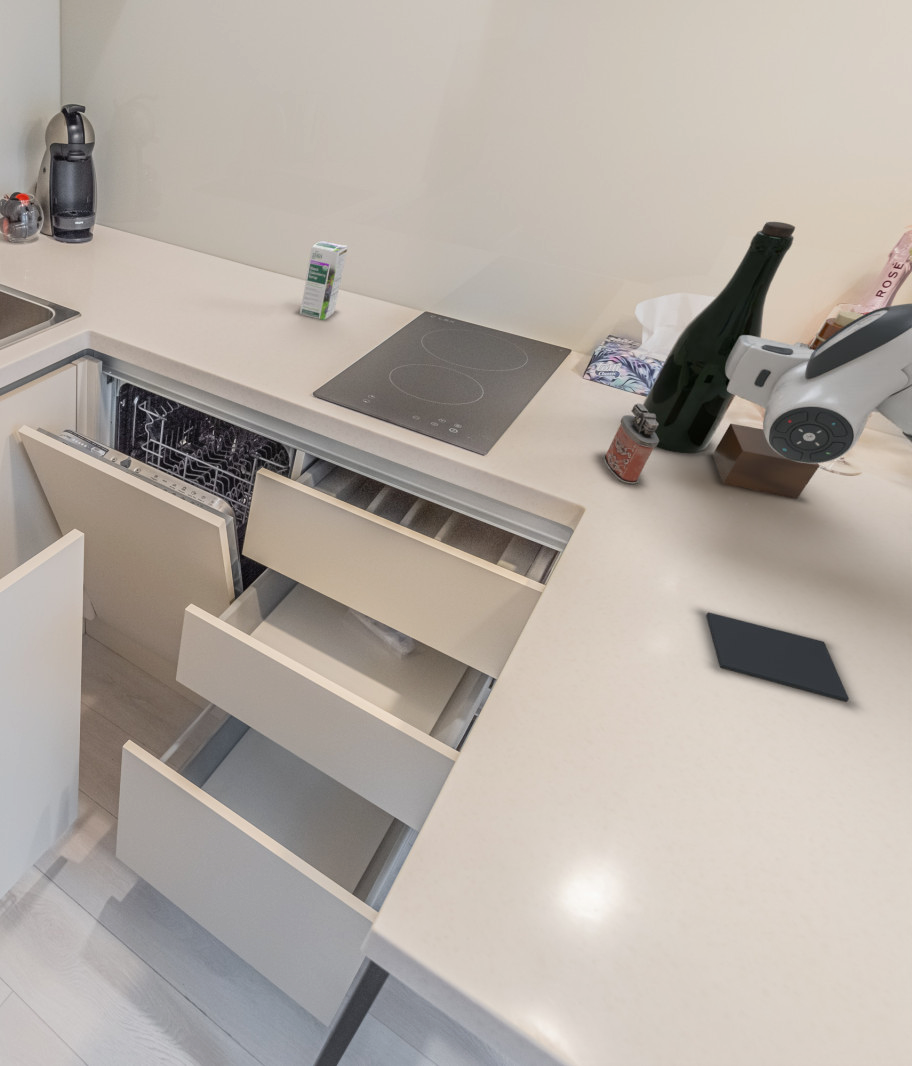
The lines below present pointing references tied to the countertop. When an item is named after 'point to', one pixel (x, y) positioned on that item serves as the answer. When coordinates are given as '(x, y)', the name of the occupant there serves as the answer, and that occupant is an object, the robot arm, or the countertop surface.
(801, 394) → the robot arm
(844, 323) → the brown ringed jar
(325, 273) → the syrup box
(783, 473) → the shelf
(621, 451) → the lighter
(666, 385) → the dark green wine bottle
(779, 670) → the rubber mat
